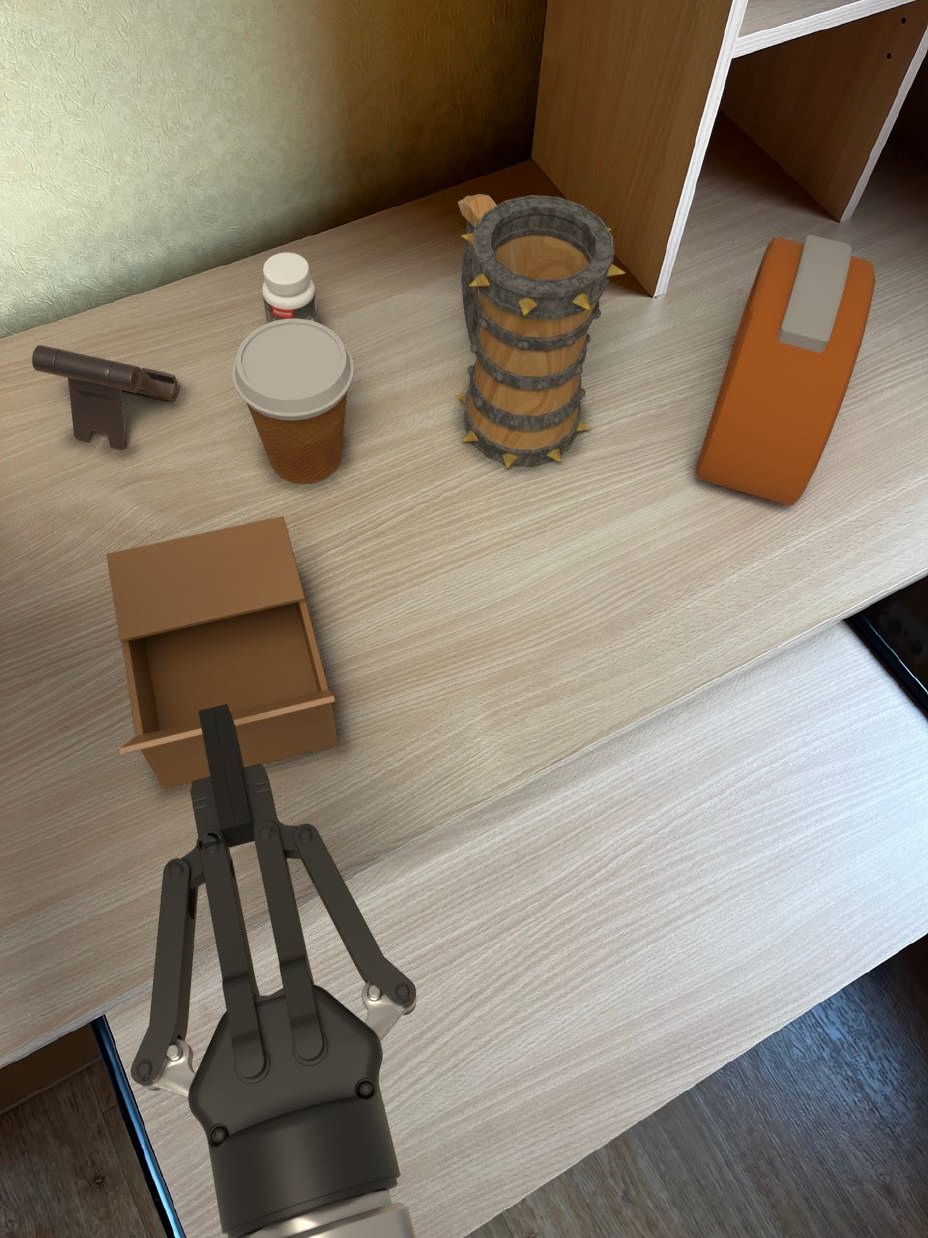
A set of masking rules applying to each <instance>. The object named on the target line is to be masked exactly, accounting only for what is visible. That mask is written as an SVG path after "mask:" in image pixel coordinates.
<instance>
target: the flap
mask: <svg viewBox="0 0 928 1238" xmlns="http://www.w3.org/2000/svg"><path fill="white" fill-rule="evenodd" d="M328 689H329V688H328ZM328 689H327V690H323V691H319V692H315V693H310V694H306V695H302V696H298V697H294V698H290V699H286V700H282V701H278V702H274V703H270V704H266V705H261V706H257V707H253V708H249V709H245V710H241V711H237V712H233V713H231V715H232V718H233V721H234V723H235V726H239V725H243V724H247V723H251V722H255V721H259V720H263V719H267V718H271V717H275V716H279V715H283V714H287V713H292V712H296V711H300V710H304V709H308V708H312V707H316V706H320V705H324V704H328V703H331V704H332V703H335V702H336V698H335V697H336V696H335V695H334V694H333V692H332V691H330V690H328ZM198 735H202V729H201V723H200V721H196V722H192V723H188V724H184V725H180V726H176V727H172V728H167V729H163V730H159V731H155V732H151V733H147V734H143V735H139V736H136V735H135V736H134V737H132V738H131V739H129V740H128V741H127V742H125V743H124V744H122V745H121V746H120V747H118V749H117V750H118V754H119V755H120V756H121V755H125V754H129V753H134V752H138V751H141V750H142V749H146V748H150V747H154V746H158V745H162V744H166V743H170V742H174V741H178V740H182V739H186V738H190V737H194V736H198Z"/></svg>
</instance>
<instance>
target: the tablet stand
mask: <svg viewBox="0 0 928 1238" xmlns="http://www.w3.org/2000/svg"><path fill="white" fill-rule="evenodd" d="M31 365H32V368H33V369H34V370H35V371H36V372H40V373H45V374H49V375H53V376H57V377H62V378H66V379H67V383H68V391H69V392H68V393H69V401H70V411H71V421H72V431H73V437H74V438H75V439H76V440H78V441H81V442H85V443H90V442H91V440H90V439H91V431H94V432H98V433H103V434H105V435H106V436H107V439H108V444H109V447H110V448H111V449H115V450H119V451H121V450H125V448H126V446H127V444H126V429H125V418H124V417H125V416H124V414H125V413H124V401H123V391H124V392H129V393H133V394H139V395H144V396H148V397H153V398H155V399H158V400H161V401H171V402H173V401H174V400H176V399H177V398H176V397H177V396H178V392H179V382H178V380H177V377H176V374H173V373H169V372H164V371H159V370H155V369H150V368H146V367H142V368H141V367H140V366H138V365H133V364H128V363H124V362H118V361H115V360H110V359H106V358H102V357H97V356H92V355H87V354H83V353H79V352H74V351H69V350H65V349H60V348H57V347H51V346H48V345H43V344H39V345H36V346H35V348H34V350H33V352H32V356H31Z"/></svg>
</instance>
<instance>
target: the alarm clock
mask: <svg viewBox="0 0 928 1238" xmlns="http://www.w3.org/2000/svg"><path fill="white" fill-rule="evenodd" d="M875 286H876V274H875V267H874V264H873V263H872V262H870V260H867V259H864V258H860V257H858V256H857V257H856V256H852V246H851V245H850V244H849V243H845V242H841V241H837V240H833V239H829V238H826V237H822V236H818V235H814V234H808V235H806V236H805V238H804V241H803V242H799V241H796V240H791V239H787V238H784V237H781V236H780V237H773V238H772V239H771V240H770V241H769V242H768V243H767V246H766V248H765V251H764V253H763V256H762V258H761V261H760V263H759V266H758V269H757V272H756V275H755V277H754V280H753V282H752V286H751V289H750V291H749V295H748V297H747V300H746V303H745V305H744V309H743V312H742V315H741V318H740V322H739V324H738V328H737V331H736V335H735V338H734V341H733V344H732V347H731V351H730V354H729V358H728V361H727V364H726V367H725V370H724V374H723V377H722V379H721V384H720V386H719V391H718V394H717V397H716V401H715V403H714V407H713V410H712V412H711V416H710V420H709V422H708V427H707V430H706V433H705V436H704V439H703V441H702V446H701V449H700V451H699V452H700V453H699V456H698V459H697V462H696V465H695V472H696V477H697V478H698V479H700V480H702V481H705V482H708V483H711V484H715V485H718V486H722V487H725V488H729V489H732V490H735V491H739V492H742V493H745V494H749V495H752V496H756V497H759V498H763V499H766V500H770V501H773V502H776V503H779V504H782V505H786V506H794V505H795V504H796V503H797V502H798V501H799V500H800V499H801V497H802V496H803V494H804V492H805V490H806V489H807V487H808V485H809V483H810V481H811V479H812V477H813V475H814V473H815V472H816V469H817V468H818V465H819V463H820V460H821V457H822V456H823V454H824V451H825V448H826V446H827V444H828V442H829V439H830V436H831V434H832V431H833V428H834V426H835V423H836V420H837V418H838V416H839V413H840V410H841V408H842V405H843V402H844V399H845V396H846V394H847V390H848V387H849V384H850V381H851V379H852V376H853V373H854V369H855V366H856V363H857V359H858V358H859V352H860V351H861V347H862V345H863V340H864V337H865V331H866V329H867V323H868V319H869V316H870V312H871V307H872V301H873V298H874V297H873V296H874V291H875Z"/></svg>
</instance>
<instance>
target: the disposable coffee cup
mask: <svg viewBox="0 0 928 1238" xmlns="http://www.w3.org/2000/svg"><path fill="white" fill-rule="evenodd" d="M354 369H355V367H354V361H353V357H352V355H351V352H350V351H349V349H348V348H347V347H346V345H345V344H344V343H343V341H342V339H341V338H340V337H339V335H338V334H336V333H335V331H333V330H332V329H331V328H329V327H327V326H325V325H324V324H322V323H320V322H318V323H317V322H314V321H310V320H305V319H282V320H277V321H273V322H270V323H267V322H266V323H265V324H263V325H261V326H259V327H257V328H255V329H254V330H252V332H251V333H249V334H248V335H247V336H246V337H244V339H243V340H242V341H241V343H240V345H239V346H238V349H237V352H236V356H235V358H234V361H233V363H232V369H231V377H232V382H233V386H234V388H235V390H236V393H238V395H239V396H240V398H241V399H242V400H243V401H244V403H246V405H247V406H246V407H247V408H248V410H249V414H250V416H251V419H252V420H253V421H252V422H253V423H254V425H255V428H256V431H257V433H258V436H259V438H260V440H261V443H262V446H263V447H264V450H265V453H266V455H267V458H268V460H269V463H270V465H271V469H272V470H273V471H274V472H275V474H277V476H279V477H280V478H282V479H284V480H285V481H287V482H290V483H294V484H301V485H308V484H314V483H318V482H321V481H323V480H325V479H327V478H329V477H330V476H332V475H333V474H334V472H336V470H337V469H338V468H339V466H340V464H341V461H342V455H343V441H344V431H345V423H346V422H345V421H346V411H347V402H348V401H347V400H348V399H347V398H348V391H349V389H350V387H351V384H352V382H353V379H354Z"/></svg>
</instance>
